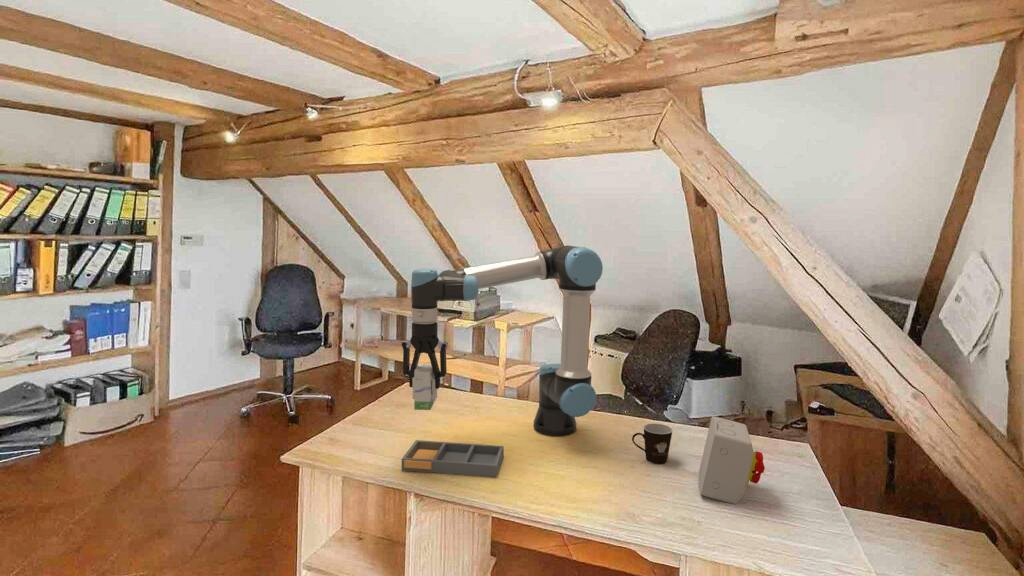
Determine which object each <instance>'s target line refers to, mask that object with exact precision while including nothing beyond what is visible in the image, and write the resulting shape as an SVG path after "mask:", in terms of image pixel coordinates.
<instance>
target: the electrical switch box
mask: <svg viewBox="0 0 1024 576" xmlns="http://www.w3.org/2000/svg"><path fill="white" fill-rule="evenodd" d="M749 433H750V432H749V429H748V427H747V425H746V424H744V423H741V422H738V421H733V420H731V419H726V418H722V417H718V416H714V415H711V417H710V422H709V427H708V430H707V435H706V440H705V444H704V448H703V452H702V457H701V461H700V465H699V470H698V491H699V494H700V495H701V496H704V497H708V498H710V499H711V498H712V499H715V500H718V501H721V502H725V503H729V504H734V505H737V504H739V502H740V500H741V499H742V498H743V497H744V495H745V492H746V489H748V488H749V483H753V484H758V482H760V479H761V476H762V474H764V472H765V469H766V467H765V465H764V464H765V463H764V454H763V452H761V451H757V450H755V451H754V448H753V443H752V439H751V437H750V434H749Z"/></svg>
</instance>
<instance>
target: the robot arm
mask: <svg viewBox="0 0 1024 576" xmlns="http://www.w3.org/2000/svg"><path fill="white" fill-rule="evenodd" d="M603 270H604V268H603V262H602V260H601V257H600V256H599V254H597V253H596V251H594V250H592V249H591V248H590V249H589V248H587V247H584V246H574V245H563V246H562V245H561V246H557V247H554V248H549V249H547V250H546V249H545V250H541V251H536V252H535V254H534V255H531V256H525V257H519V258H515V259H509V260H503V261H497V262H491V263H487V264H481V265H476V266H470V267H464V268H460V269H454V270H453V269H452V270H450V269H445V270H442V271H440V272H439V273H438V270H437V269H434V268H416V269H414V270H412V272H411V282H410V287H411V288H410V289H411V290H410V293H411V297H410V299H411V321H412V323H411V337H410V339H408V340H404V341H403V342H401V347H402V350H403V352H402V353H403V355H402V356H403V357H402V360H403V361H402V374H403V376H404V375H406V376H408V378H409V379H408V380H409V382H408V383H409V384H408V385H409V387H410V388H412V399H413V400H414V372H415V369H416V368H417V367H418V366H419V365H418V364H419V362H420V357H421V355H422V354H423V353H424V354H427V355H428V358H429V362H430V364H431V365H432V369H433V372H434V378H433V379H432V400H435V399H436V400H437V398H438V390H439V389H440V388H441V378H444V377H445V376H446V375H447V371H448V369H447V349H448V345H449V343H448V342H446V341H445V342H443V341H440V339H439V337H438V335H439V333H438V331H439V330H438V329H439V328H438V322H437V321H438V302H448V301H449V302H451V301H453V302H454V301H455V302H456V301H458V302H459V301H460V302H461V301H463V302H464V301H465V302H467V301H474V300H476V299H477V298H478V295H479V290H481V289H487V288H493V287H497V286H502V285H509V284H515V283H519V282H523V281H529V280H535V279H539V280H541V281H546V280H559V281H558V290H559V291H560V292H561V293H562V296H563V297H562V298H563V299H562V317H561V321H562V323H561V342H560V343H561V349H560V350H561V351H560V363H549V364H548V363H546V364H543V365H541V366H540V369H539V374H538V376H539V377H538V378H539V380H538V381H539V382H538V383H539V384H538V385H539V387H538V388H539V389H538V391H539V392H538V404H539V405H538V408H537V410H536V414H535V417H534V419H533V429H534V431H535V432H536V433H538V434H540V435H544V436H549V437H566V436H570V435H572V434H574V433H576V432H577V419H576V418H579V417H580V418H581V417H585V416H586V415H587V414H589V412H590V411H592V410H593V409H594V407H595V405H596V403H597V393H596V390H595V389H594V387H593V386H592V372H591V371H590V370H589V369H588V356H589V355H588V353H589V334H590V313H591V311H590V309H591V295H592V294H594V292H595V291H596V288H597V286H596V285H597V282H598V281H599V280H601V278H602V274H603ZM411 345H412V347H413V348H414V354H413V357H412V362H411V361H410V358H411V353H410V351H411V349H410V348H411ZM437 347H438V349H439V361H440V362H439V363H438V360H437V359H438V358H437V356H436V348H437ZM410 362H411V363H410ZM410 364H411V365H410ZM439 364H440V365H439Z"/></svg>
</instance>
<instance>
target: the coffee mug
mask: <svg viewBox="0 0 1024 576" xmlns="http://www.w3.org/2000/svg"><path fill="white" fill-rule="evenodd" d="M673 430H674V429H673V428H672V427H671V426H669V425H666V424H662V423H657V422H655V423H647V424H645V425H644V426H643V433H642V432H637V433H636V432H635V433H634V434H633V435H632V437H631V441H632V443H633V444H634V446H636V447H637V448H638V449H640V450H641V451H644V452H645V461H647V462H648V463H650V464H656V465H662V464H663V465H664V464H666V463H667V462H668V457H669V451H670V446H671V441H672V435H673V432H674V431H673ZM636 436H641V437H642V438H643V439H644V448H643V447H642V446H640V445H639V444H637V443H636V442H635V437H636Z"/></svg>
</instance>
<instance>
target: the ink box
mask: <svg viewBox="0 0 1024 576" xmlns="http://www.w3.org/2000/svg"><path fill="white" fill-rule="evenodd" d="M433 378H434V372H433V369H432V365H431V363H419V365H417V368H416V369H415V372H414V399H413V400H414V403H413V404H414V407H413V410H415V411H431V410H432V408H433V406H434V403H435V402H436V400H437V398H436V399H435V400H432V379H433Z"/></svg>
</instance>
